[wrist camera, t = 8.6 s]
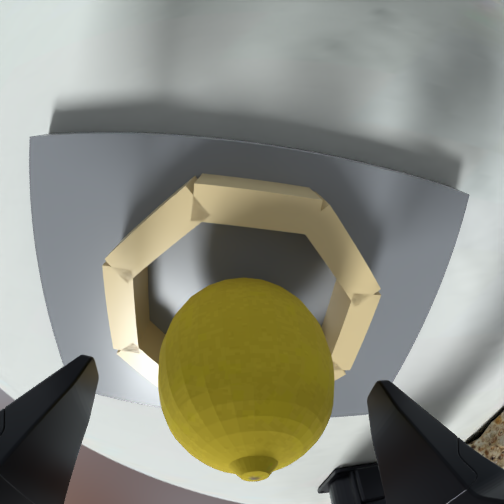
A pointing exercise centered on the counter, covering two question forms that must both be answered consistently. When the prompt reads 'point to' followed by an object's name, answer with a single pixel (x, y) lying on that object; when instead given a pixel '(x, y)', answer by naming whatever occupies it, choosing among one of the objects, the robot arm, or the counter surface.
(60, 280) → the plate
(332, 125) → the counter surface
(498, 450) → the rock
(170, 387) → the lemon
